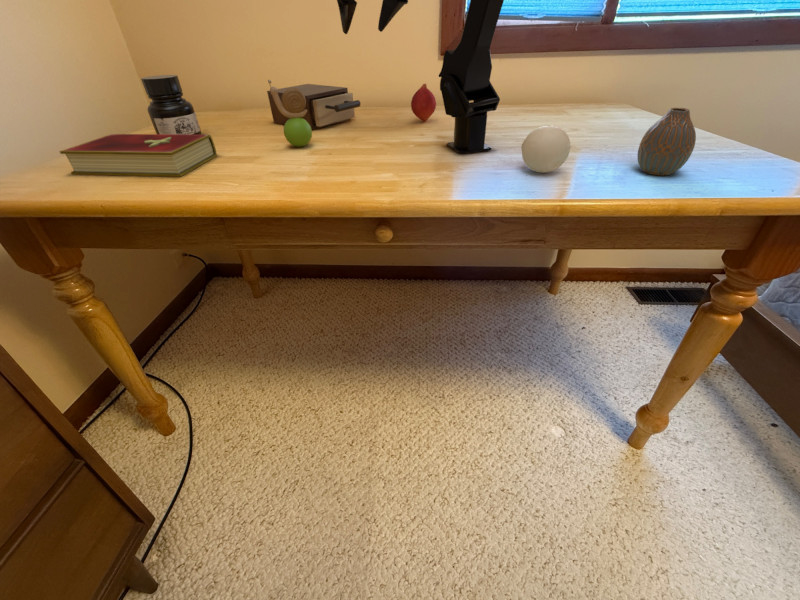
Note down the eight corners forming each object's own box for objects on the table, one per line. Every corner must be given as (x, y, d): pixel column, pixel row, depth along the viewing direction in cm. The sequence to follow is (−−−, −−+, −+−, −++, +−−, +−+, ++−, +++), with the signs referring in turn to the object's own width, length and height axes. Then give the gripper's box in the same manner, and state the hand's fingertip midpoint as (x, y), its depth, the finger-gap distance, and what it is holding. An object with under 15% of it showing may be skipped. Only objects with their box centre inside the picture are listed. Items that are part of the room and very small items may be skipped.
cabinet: (350, 119, 96) (347, 87, 91) (312, 130, 88) (306, 95, 84) (312, 113, 103) (307, 83, 99) (273, 122, 95) (266, 90, 91)
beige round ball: (540, 161, 65) (547, 118, 61) (573, 173, 60) (584, 127, 56) (508, 168, 62) (514, 124, 58) (540, 181, 57) (549, 134, 53)
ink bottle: (163, 146, 80) (138, 81, 73) (152, 139, 86) (128, 77, 79) (209, 137, 85) (190, 75, 78) (196, 131, 91) (177, 72, 84)
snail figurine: (279, 145, 78) (265, 78, 71) (310, 141, 80) (300, 75, 73) (284, 152, 74) (269, 81, 67) (316, 147, 76) (306, 78, 69)
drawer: (368, 119, 91) (366, 94, 88) (333, 129, 84) (330, 102, 81) (318, 111, 100) (314, 88, 97) (283, 120, 94) (278, 95, 90)
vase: (682, 182, 55) (709, 116, 50) (629, 174, 58) (649, 111, 53) (683, 168, 60) (708, 106, 55) (634, 162, 63) (654, 103, 58)
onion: (408, 123, 90) (407, 85, 85) (414, 118, 94) (414, 81, 90) (432, 124, 89) (433, 85, 84) (437, 119, 93) (438, 81, 88)
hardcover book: (121, 154, 77) (111, 132, 74) (217, 155, 74) (210, 132, 71) (72, 174, 67) (58, 149, 65) (180, 176, 64) (170, 150, 62)
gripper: (394, -81, 75) (375, 9, 87) (310, -91, 65) (303, 11, 78) (428, -51, 72) (404, 37, 84) (346, -57, 62) (333, 43, 75)
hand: (362, 31), depth 81 cm, fingers open, 9 cm apart
